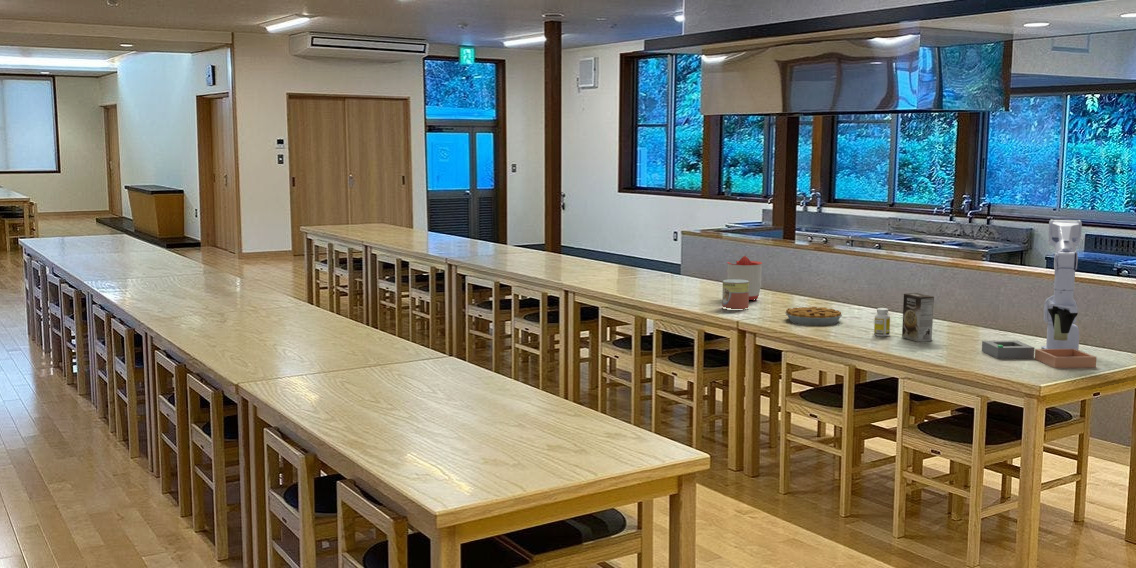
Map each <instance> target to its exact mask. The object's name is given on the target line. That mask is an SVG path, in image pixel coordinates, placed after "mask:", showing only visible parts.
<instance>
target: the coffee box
mask: <svg viewBox="0 0 1136 568" xmlns="http://www.w3.org/2000/svg"><path fill="white" fill-rule="evenodd" d="M902 303H903V305H902V324H901V325H902V329H901V330H902V331H901V338H904V339H906V340H911V341H913V342H914V341H915V342H917V343H921V342H931V341H933V324H934V323H933V322H934V304H935V296H932V295H927V294H924V293H920V292H913V293H912V292H909V293H903V302H902Z"/></svg>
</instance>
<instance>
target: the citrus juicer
mask: <svg viewBox="0 0 1136 568" xmlns="http://www.w3.org/2000/svg"><path fill="white" fill-rule="evenodd" d="M726 263H727V269H726V270H725V271H726V273H727V279H742V280H748V281H749V300H753V301H755V300H754V299H757V300H758V299H759V296H760V292H761V288H762V273H763V272H762V271H763V270H762V268H763V267H762V265H763V262H762V261H757V260H750V258H749V257H747V256H746V255H743V256H742V257H741V258H740V259H739V260H736V263H731V262H729V261H727V262H726Z"/></svg>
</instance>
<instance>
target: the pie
mask: <svg viewBox="0 0 1136 568" xmlns="http://www.w3.org/2000/svg"><path fill="white" fill-rule="evenodd" d="M785 315H786V316H787V318H788V319H789V322H791V321H792V322H791V323H793V322H794V323H793V324H797V323H798V324H797V325H803V324H805V325H807V326H827V325H828V326H830V325H829V324H831V325H836V324H837V323H839V320H840V319H841V317H842V316H843V315H842V312H841V311H840V310H835V309H834V308H827V307H822V306H821V307H817V306H811V307H809V306H808V307H806V306H805V307H793V308H790V307H789V308H787V309H786V311H785Z"/></svg>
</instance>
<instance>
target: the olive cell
mask: <svg viewBox="0 0 1136 568" xmlns="http://www.w3.org/2000/svg"><path fill="white" fill-rule="evenodd" d="M1054 339H1055V340H1061V341H1065V340H1067V339H1068V333H1061V327H1060V318H1059V315H1058V314H1055V323H1054Z"/></svg>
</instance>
